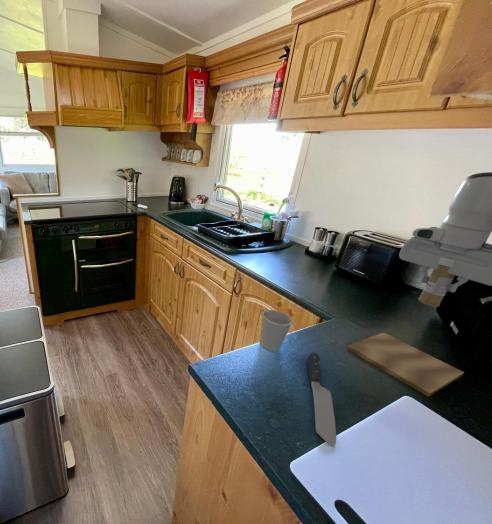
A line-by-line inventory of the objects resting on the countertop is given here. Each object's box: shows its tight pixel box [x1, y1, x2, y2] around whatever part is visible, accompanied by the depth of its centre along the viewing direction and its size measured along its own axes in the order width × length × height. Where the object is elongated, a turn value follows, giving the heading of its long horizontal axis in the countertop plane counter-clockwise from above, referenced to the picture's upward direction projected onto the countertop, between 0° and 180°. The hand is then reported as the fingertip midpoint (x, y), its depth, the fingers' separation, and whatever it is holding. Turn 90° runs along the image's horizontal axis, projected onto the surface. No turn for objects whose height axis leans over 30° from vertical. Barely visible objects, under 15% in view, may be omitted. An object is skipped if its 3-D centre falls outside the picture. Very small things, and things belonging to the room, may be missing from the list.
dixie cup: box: [259, 309, 294, 352], centre depth 86 cm, size 8×8×10 cm
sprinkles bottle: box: [418, 258, 456, 307], centre depth 78 cm, size 5×5×14 cm
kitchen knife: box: [306, 351, 337, 448], centre depth 70 cm, size 29×3×5 cm
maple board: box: [346, 332, 465, 398], centre depth 84 cm, size 20×20×1 cm
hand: (436, 286), depth 78 cm, fingers closed on sprinkles bottle, 4 cm apart
